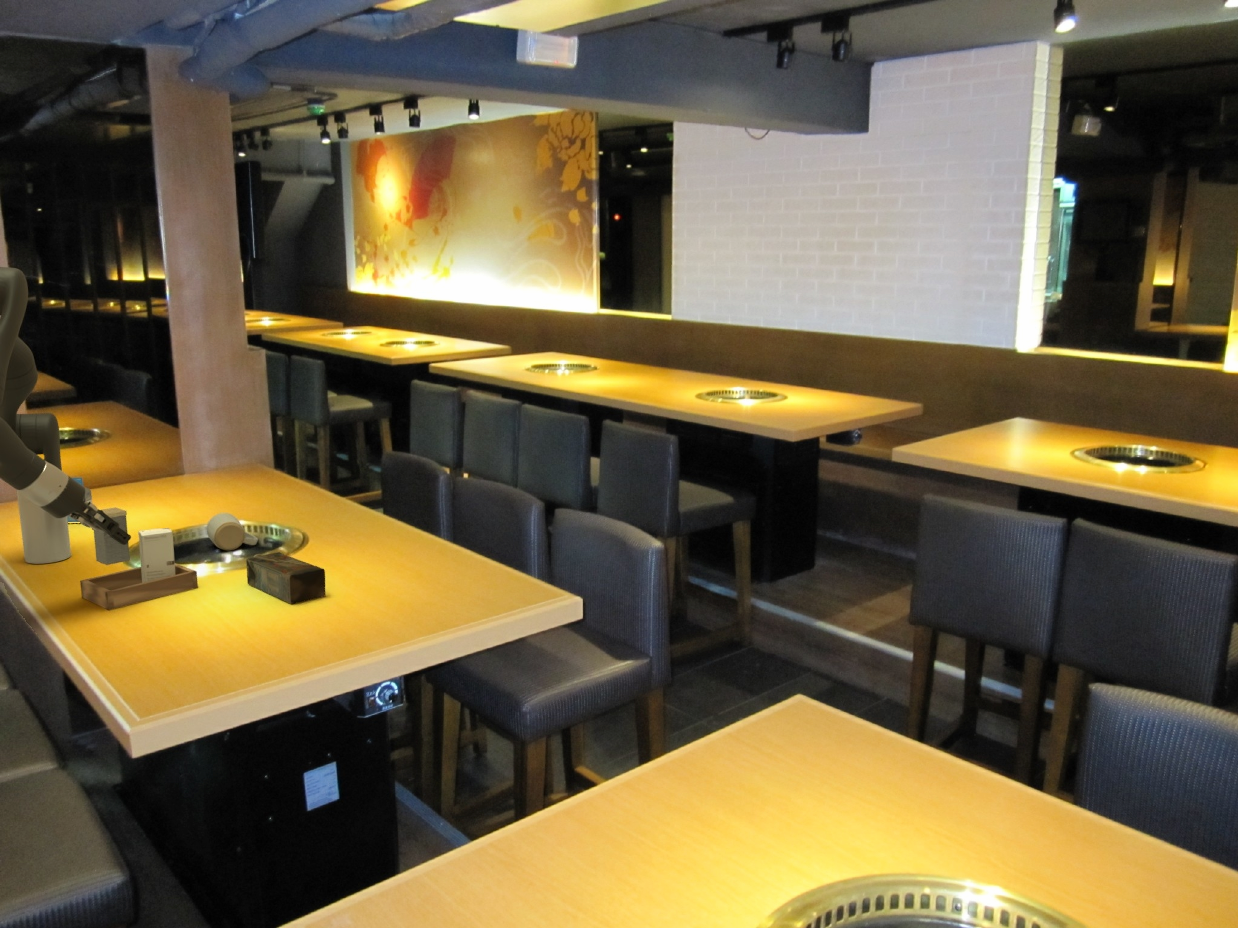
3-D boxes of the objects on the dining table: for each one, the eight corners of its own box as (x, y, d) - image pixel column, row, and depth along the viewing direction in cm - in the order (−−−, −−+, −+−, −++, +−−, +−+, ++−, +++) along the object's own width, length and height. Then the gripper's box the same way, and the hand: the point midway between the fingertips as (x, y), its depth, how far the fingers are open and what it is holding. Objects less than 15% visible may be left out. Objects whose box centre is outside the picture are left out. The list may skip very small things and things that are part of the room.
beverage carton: (281, 577, 215) (279, 547, 213) (328, 597, 201) (326, 566, 200) (246, 585, 209) (244, 555, 208) (291, 607, 196) (289, 574, 195)
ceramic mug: (215, 554, 231) (213, 521, 229) (207, 545, 238) (205, 514, 236) (262, 547, 237) (260, 516, 235) (253, 540, 243) (251, 509, 242)
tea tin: (95, 560, 198) (91, 511, 196) (119, 556, 202) (115, 507, 200) (106, 565, 195) (101, 515, 193) (130, 560, 199) (126, 510, 197)
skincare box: (145, 593, 203) (140, 535, 201) (142, 587, 207) (136, 530, 204) (178, 588, 206) (173, 531, 204) (174, 582, 210) (169, 526, 208)
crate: (81, 597, 200) (80, 580, 200) (169, 576, 214) (167, 560, 213) (109, 610, 193) (107, 592, 192) (197, 587, 207) (196, 571, 206)
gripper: (81, 478, 185) (151, 529, 196) (48, 468, 194) (117, 517, 205) (53, 511, 182) (126, 560, 193) (21, 499, 191) (93, 548, 202)
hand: (121, 538), depth 199 cm, fingers closed on tea tin, 4 cm apart
